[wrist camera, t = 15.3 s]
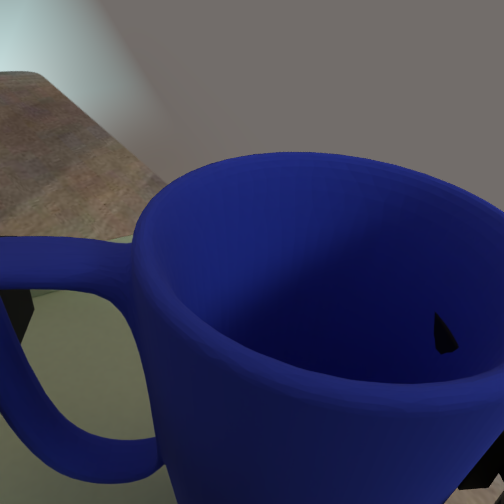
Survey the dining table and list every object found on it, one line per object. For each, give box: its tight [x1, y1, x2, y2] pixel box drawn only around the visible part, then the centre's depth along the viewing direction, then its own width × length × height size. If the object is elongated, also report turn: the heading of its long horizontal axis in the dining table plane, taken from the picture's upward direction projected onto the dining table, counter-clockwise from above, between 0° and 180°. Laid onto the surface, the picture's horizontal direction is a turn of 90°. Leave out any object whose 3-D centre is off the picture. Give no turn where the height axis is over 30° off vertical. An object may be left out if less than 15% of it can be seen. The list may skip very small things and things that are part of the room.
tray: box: [0, 235, 178, 504], centre depth 17 cm, size 22×18×3 cm
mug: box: [0, 152, 504, 504], centre depth 12 cm, size 8×12×10 cm
